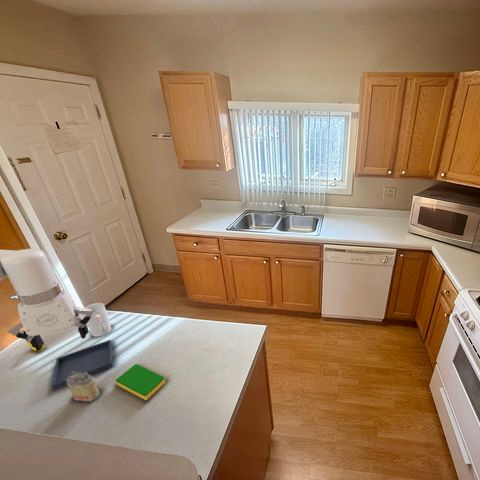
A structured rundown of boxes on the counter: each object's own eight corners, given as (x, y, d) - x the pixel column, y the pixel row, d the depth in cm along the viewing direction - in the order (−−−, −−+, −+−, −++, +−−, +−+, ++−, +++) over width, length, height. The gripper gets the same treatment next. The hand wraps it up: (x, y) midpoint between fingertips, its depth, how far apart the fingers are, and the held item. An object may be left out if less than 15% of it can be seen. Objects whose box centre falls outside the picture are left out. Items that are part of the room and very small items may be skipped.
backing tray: (53, 390, 82) (51, 385, 81) (58, 362, 91) (56, 358, 90) (112, 366, 91) (111, 362, 90) (111, 343, 100) (110, 339, 99)
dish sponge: (146, 400, 80) (144, 395, 79) (116, 384, 85) (114, 379, 84) (166, 382, 86) (164, 377, 85) (137, 368, 91) (136, 363, 90)
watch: (48, 349, 96) (42, 337, 94) (39, 354, 94) (33, 342, 91) (37, 344, 98) (31, 333, 95) (28, 350, 95) (21, 338, 93)
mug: (89, 331, 105) (79, 308, 100) (109, 323, 110) (101, 300, 105) (96, 344, 99) (86, 320, 94) (117, 334, 104) (109, 311, 99)
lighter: (71, 400, 79) (59, 378, 75) (82, 389, 83) (71, 367, 79) (93, 402, 79) (83, 380, 75) (103, 390, 83) (94, 368, 79)
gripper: (-15, 311, 61) (16, 362, 68) (80, 292, 69) (98, 339, 76) (-1, 295, 67) (26, 343, 74) (85, 279, 75) (102, 323, 82)
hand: (63, 341), depth 75 cm, fingers open, 9 cm apart
